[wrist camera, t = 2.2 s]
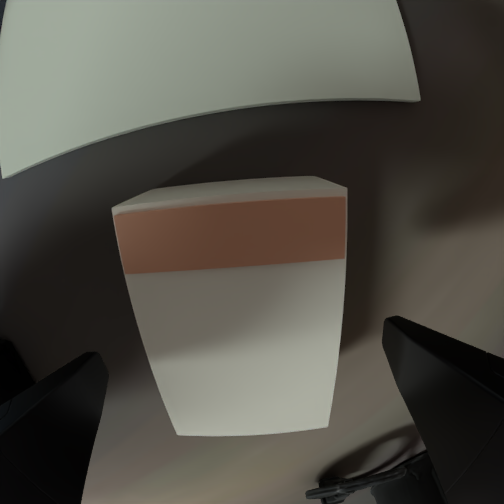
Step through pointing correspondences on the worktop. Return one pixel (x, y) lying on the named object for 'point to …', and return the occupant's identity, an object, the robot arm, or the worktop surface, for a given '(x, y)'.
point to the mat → (184, 64)
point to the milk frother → (388, 485)
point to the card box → (239, 299)
